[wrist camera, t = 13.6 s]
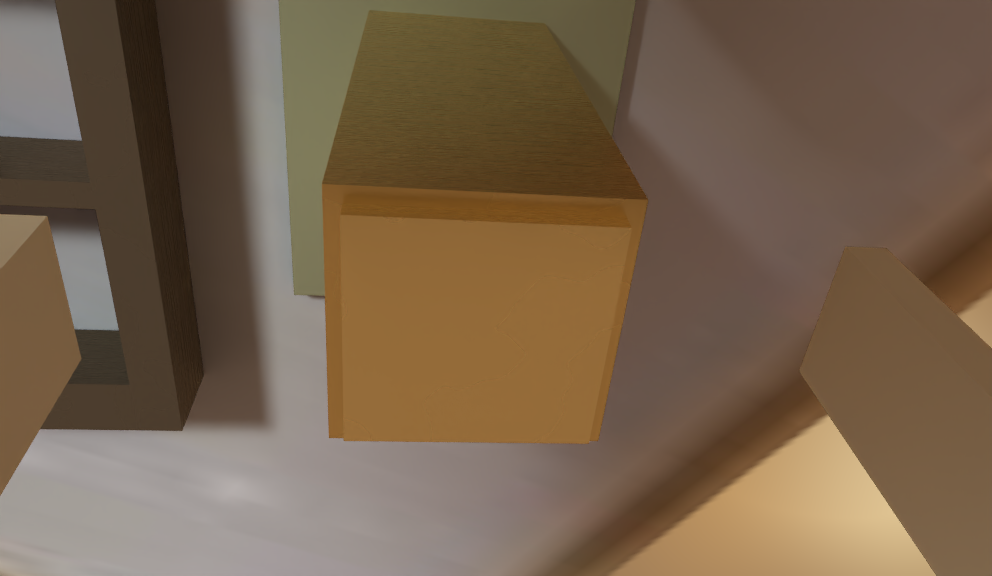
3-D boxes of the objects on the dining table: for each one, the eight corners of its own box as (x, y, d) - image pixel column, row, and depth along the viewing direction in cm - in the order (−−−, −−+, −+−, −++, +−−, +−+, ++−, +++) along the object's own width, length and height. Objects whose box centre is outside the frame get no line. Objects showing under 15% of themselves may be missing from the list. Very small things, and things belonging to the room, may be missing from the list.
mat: (272, -188, 20) (268, -188, 19) (655, -149, 21) (661, -147, 20) (296, 285, 27) (294, 294, 26) (579, 295, 28) (582, 304, 27)
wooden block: (369, 10, 22) (319, 195, 11) (545, 23, 22) (654, 211, 12) (368, 175, 24) (326, 453, 14) (525, 183, 25) (602, 455, 14)
